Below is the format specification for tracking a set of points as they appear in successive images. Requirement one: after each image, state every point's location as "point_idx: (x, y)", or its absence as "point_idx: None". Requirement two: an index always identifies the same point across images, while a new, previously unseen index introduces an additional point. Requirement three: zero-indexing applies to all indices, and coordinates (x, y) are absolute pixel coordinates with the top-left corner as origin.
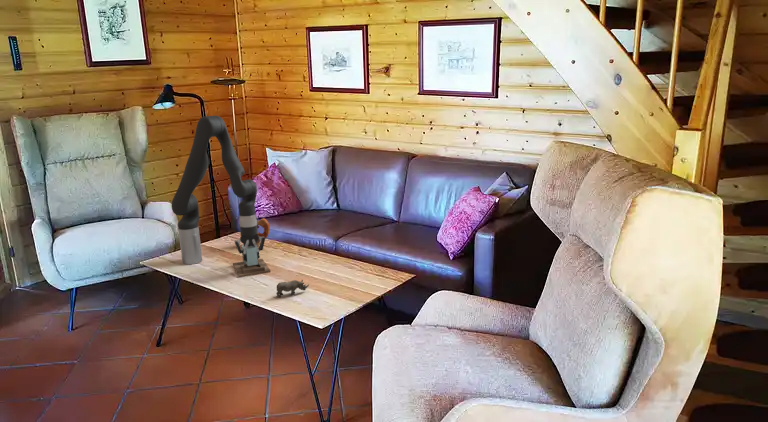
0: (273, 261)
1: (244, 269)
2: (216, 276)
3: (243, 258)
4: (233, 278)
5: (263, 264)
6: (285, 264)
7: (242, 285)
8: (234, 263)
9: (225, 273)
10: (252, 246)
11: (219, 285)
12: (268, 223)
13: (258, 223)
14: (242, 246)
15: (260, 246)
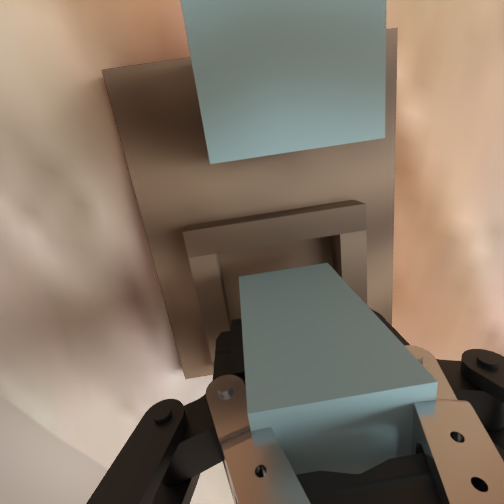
0: (464, 108)
1: None
2: (21, 310)
3: (216, 347)
4: (151, 373)
5: (372, 216)
6: None
7: (210, 470)
8: (121, 90)
9: (79, 270)
10: (384, 441)
11: (81, 448)
12: None
13: None
14: (195, 18)
15: (502, 392)
